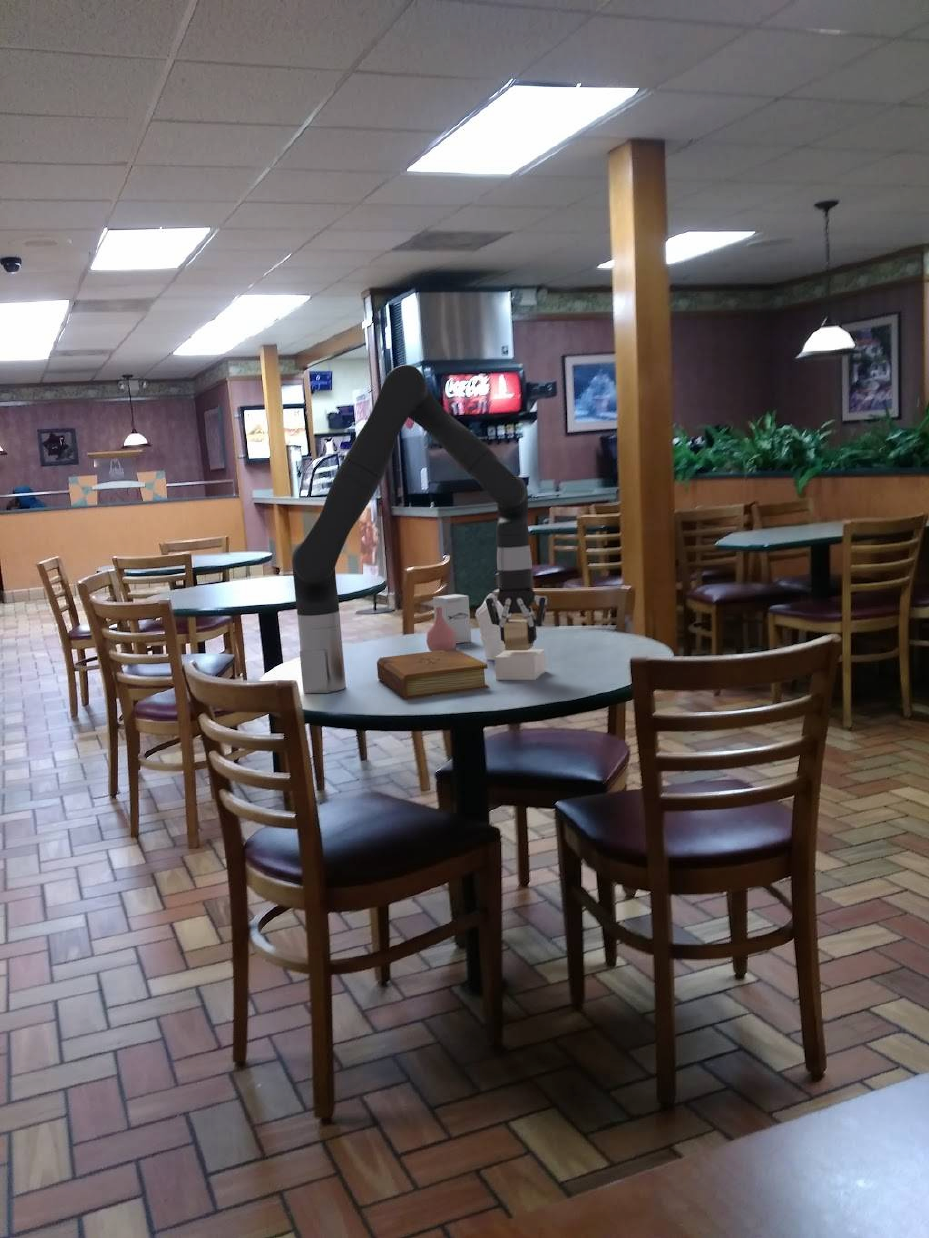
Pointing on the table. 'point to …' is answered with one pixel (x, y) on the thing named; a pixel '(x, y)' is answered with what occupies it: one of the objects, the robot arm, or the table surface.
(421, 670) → the diary
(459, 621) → the supplement box
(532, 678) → the plinth
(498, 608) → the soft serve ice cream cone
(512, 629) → the oak block
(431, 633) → the pink vase
